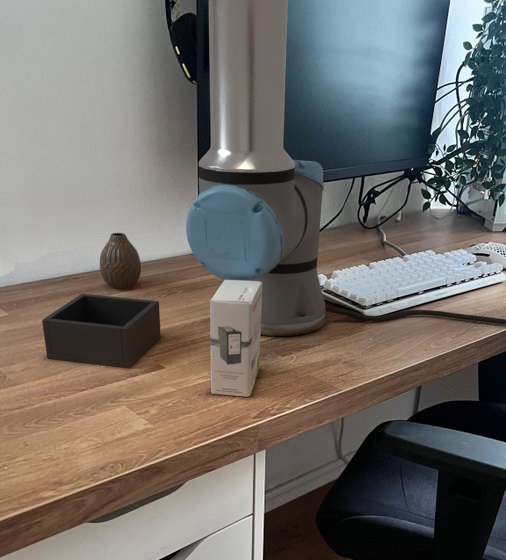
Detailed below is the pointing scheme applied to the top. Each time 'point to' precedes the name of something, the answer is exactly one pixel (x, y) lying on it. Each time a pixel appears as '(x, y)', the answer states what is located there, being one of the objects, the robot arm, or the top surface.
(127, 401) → the top surface
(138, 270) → the vase
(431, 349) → the top surface
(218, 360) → the ink box
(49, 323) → the box
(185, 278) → the top surface
